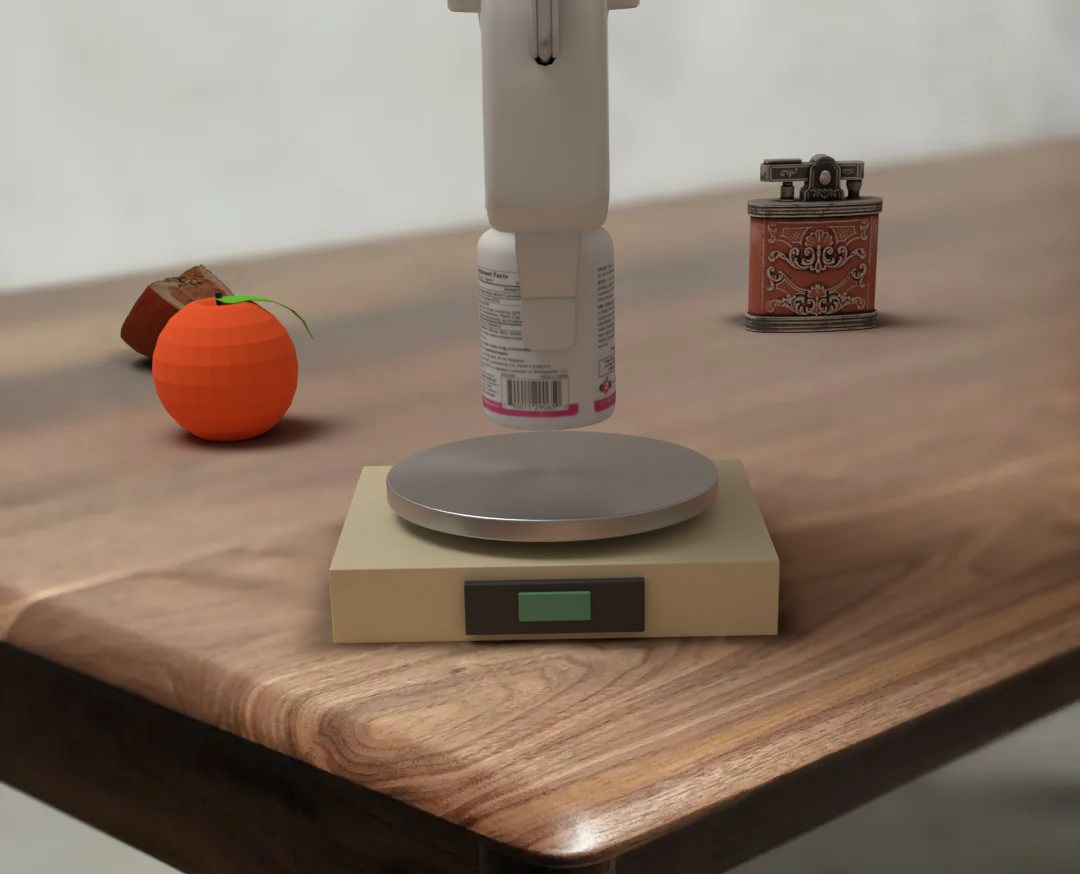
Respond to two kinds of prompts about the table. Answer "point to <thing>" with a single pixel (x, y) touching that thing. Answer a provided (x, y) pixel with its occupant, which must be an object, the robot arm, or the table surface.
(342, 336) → the table surface
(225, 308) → the clementine
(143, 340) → the brown block
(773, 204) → the lighter
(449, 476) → the pan
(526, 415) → the pill bottle
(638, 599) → the scale
